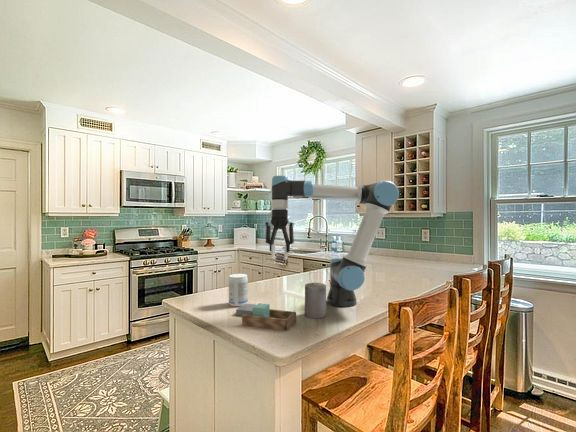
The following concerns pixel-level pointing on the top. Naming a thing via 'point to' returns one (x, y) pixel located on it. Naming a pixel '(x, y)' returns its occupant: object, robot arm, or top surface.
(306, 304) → the pillar candle
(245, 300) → the supplement tub
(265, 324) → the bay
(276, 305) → the top surface
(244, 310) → the trivet
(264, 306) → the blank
